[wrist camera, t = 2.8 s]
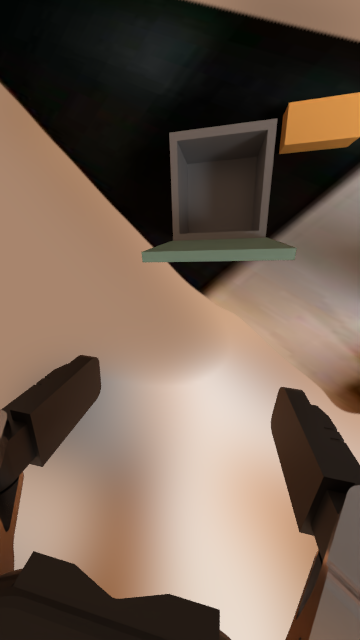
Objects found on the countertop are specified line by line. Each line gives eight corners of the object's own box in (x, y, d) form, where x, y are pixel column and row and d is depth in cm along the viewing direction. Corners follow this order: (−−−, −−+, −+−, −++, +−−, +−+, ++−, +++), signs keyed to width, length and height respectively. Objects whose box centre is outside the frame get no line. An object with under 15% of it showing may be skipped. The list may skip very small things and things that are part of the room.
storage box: (263, 151, 28) (277, 118, 21) (255, 239, 32) (265, 237, 25) (182, 159, 30) (169, 132, 23) (184, 241, 34) (173, 240, 27)
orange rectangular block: (353, 107, 26) (369, 91, 23) (345, 147, 27) (359, 136, 24) (282, 117, 27) (289, 102, 24) (278, 154, 28) (284, 145, 26)
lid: (296, 248, 15) (294, 259, 15) (267, 237, 25) (266, 244, 25) (141, 252, 17) (142, 262, 17) (171, 240, 27) (172, 247, 27)
